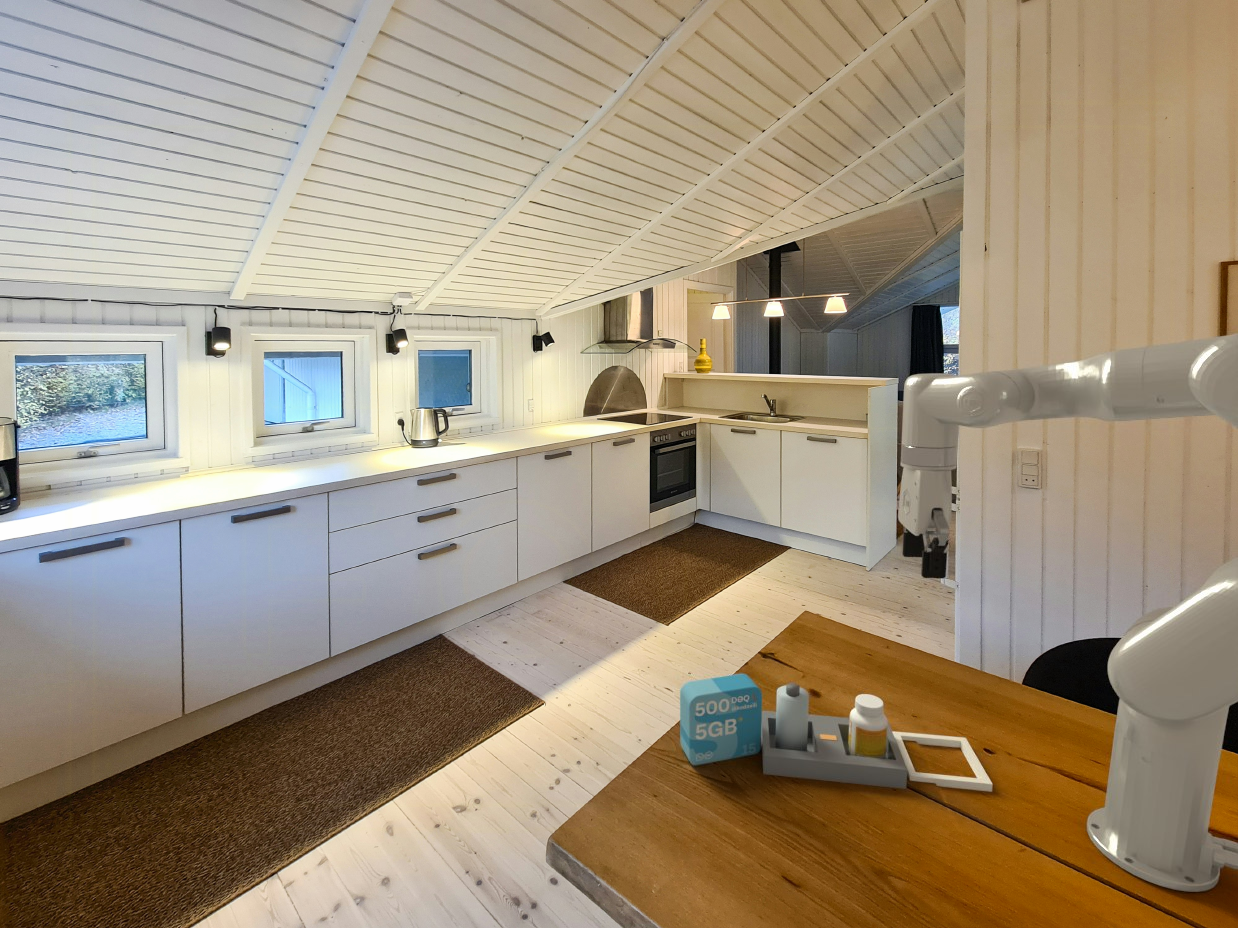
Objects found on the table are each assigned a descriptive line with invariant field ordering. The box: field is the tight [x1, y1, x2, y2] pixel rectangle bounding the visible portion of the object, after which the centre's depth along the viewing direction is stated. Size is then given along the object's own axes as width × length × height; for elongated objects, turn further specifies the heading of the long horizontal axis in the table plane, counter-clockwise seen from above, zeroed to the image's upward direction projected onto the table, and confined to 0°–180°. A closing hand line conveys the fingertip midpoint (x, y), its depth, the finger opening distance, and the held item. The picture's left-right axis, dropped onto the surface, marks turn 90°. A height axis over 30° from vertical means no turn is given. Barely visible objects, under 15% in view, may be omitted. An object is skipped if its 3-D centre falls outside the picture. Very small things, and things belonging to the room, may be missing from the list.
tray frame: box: [892, 730, 993, 793], centre depth 95 cm, size 11×11×1 cm
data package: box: [679, 673, 763, 766], centre depth 97 cm, size 12×4×12 cm, turn 104°
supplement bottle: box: [848, 693, 888, 759], centre depth 95 cm, size 5×5×10 cm
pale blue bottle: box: [775, 682, 810, 751], centre depth 97 cm, size 5×5×11 cm
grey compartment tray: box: [761, 710, 908, 790], centre depth 96 cm, size 20×12×4 cm, turn 79°
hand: (922, 566), depth 95 cm, fingers open, 9 cm apart
